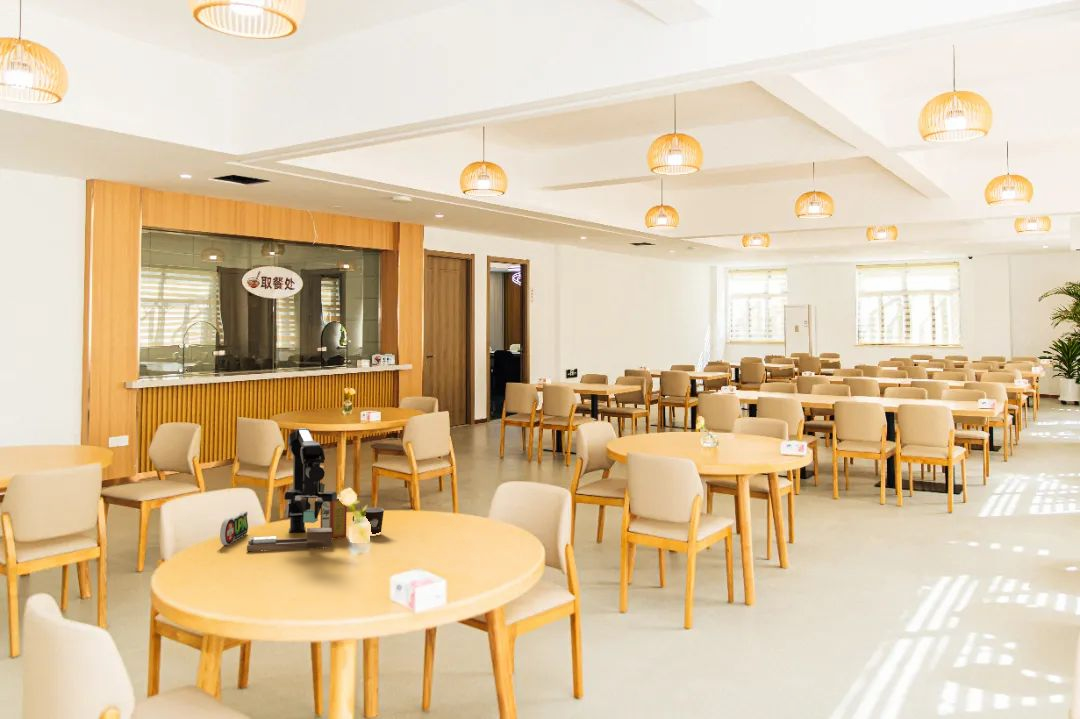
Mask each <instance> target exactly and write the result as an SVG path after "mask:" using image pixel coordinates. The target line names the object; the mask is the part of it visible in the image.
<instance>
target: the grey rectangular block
mask: <svg viewBox="0 0 1080 719" xmlns="http://www.w3.org/2000/svg"><path fill="white" fill-rule="evenodd" d="M277 539H278V538H277V536H274V535H273V536H256V537H255V536H252V537H250V540H249V541H250V545H254V544H273V543H276V541H277Z"/></svg>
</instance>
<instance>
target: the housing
mask: <svg viewBox="0 0 1080 719" xmlns="http://www.w3.org/2000/svg"><path fill="white" fill-rule="evenodd" d="M332 540H333V539H332V528H331V527H326V528H321V527H310V528H309V527H308V528H307V527H306V537H295V538H294V537H293V538H280V539H279V538H277V541H276V543H273V544H254V545H250V540H248V544H247V545H246V552H247V551H259V552H265V551H264V550H277V551H293V550H292V549H296V550H310V548H314V549H326V548H325V547H332ZM323 547H324V548H323ZM290 549H291V550H290ZM261 550H263V551H261Z"/></svg>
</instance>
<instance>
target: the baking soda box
mask: <svg viewBox="0 0 1080 719" xmlns="http://www.w3.org/2000/svg"><path fill="white" fill-rule="evenodd" d="M339 496H341V495H340V494H338V493H337V499H335V500H334V501H331V502H329V501H326V502H324V503H323V504H322V506H321V509H320V528H326V527H331V528H332V538H336V539H339V538H338V537H342V538H346V537H347V511H348V510H347V506H345V505H343V504H342V503H341V502H340V501H339Z"/></svg>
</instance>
